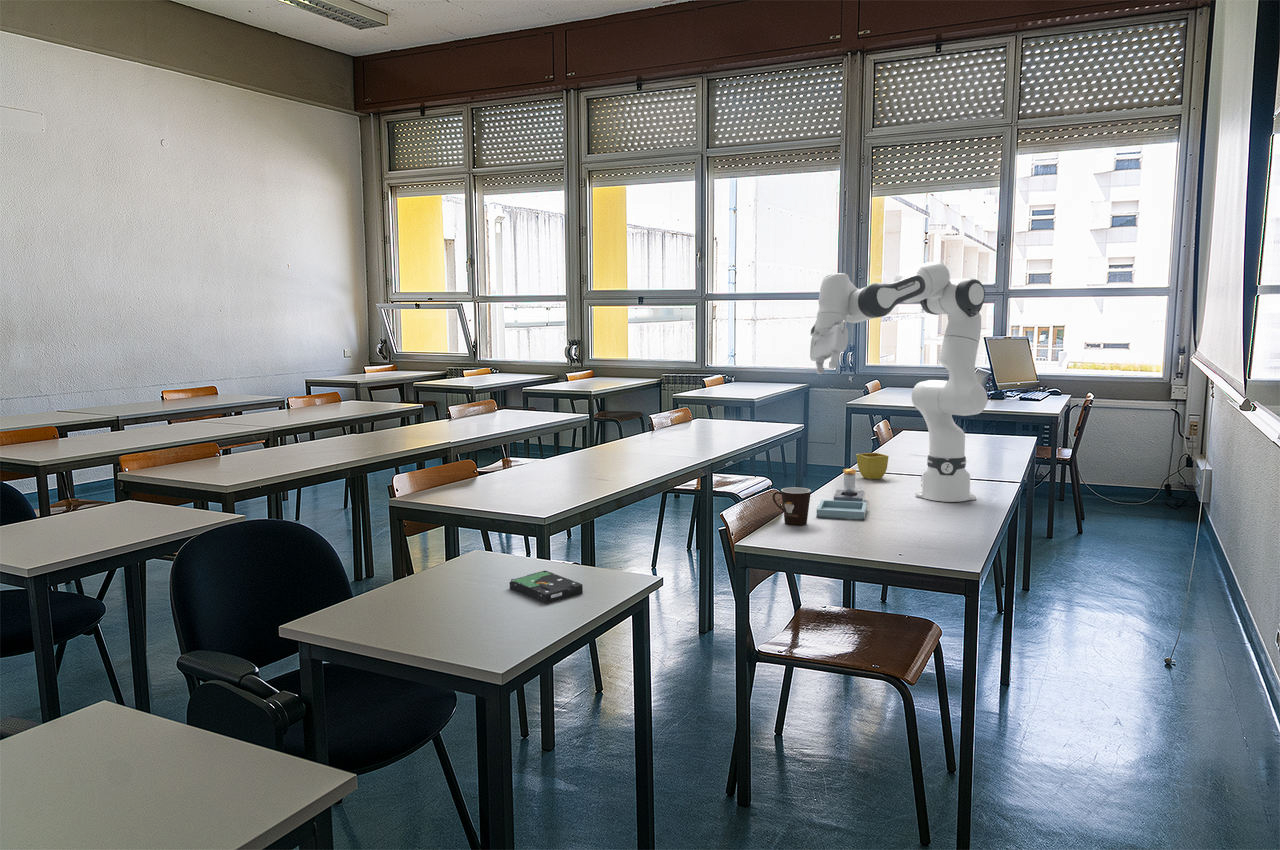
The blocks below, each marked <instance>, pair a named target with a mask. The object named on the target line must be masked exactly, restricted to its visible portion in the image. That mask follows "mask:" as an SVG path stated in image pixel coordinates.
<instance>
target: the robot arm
mask: <svg viewBox="0 0 1280 850" xmlns="http://www.w3.org/2000/svg"><path fill="white" fill-rule="evenodd" d="M985 298H986V291H985V287H984V286H983V284H982V282H981V281H980V280H978V279H975V278H971V277H970V278H969V277H967V278H966V277H965V278H954V279H953V278H951V275H950V271H949V268H948V267H947V266H946V265H945V264H944V263H942V262H940V261H931V262H925V263H921V264H916V265H914V266H911V267H909V268H907V269H905V270H902V271H901V272H900V273H898V274H896V275H895V278H894V281H893V282H891V283H884V282H873V283H871V284H869V285H867V286H864V287H862V288H858V287H856V286H855V284H854V283H853V282H852V281H851V279H850V276H849V275H848V274H846V273H843V272H837V273H830V274H828V275H826V276H825V277H823V279H822V282H821V284H820V288H819V293H818V305H819V306H818V311H817V314H816V320H815V322H814V323H813V324H814V325H813V326H812V328H810V334H809V335H810V336H811V340H810V350H809V351H810V352H809V357H810V361H813V362H815V365H816V366H815V367H816V374H818V375H822V374H824V373H825V367H824V363H825V361H826V360H828V359H830V361H829V363H828V368H829V369H833V370H834V369H836V368H837V365H838V362H839V358H840V355H841V353H843V352H845V351H846V350H847V348H848V343H849V329H848V327H847V323H848V324H858V323H863V322H866V321H869V320H872V319H875V318H876V319H877V318H881V317H885V316H887V315H889V314H890V313H891V312H892V311H893V309H894V308H895V307H896V306H897V305H898V304H900V303H903V304H913V303H920V306H921V308H922V310H923V311H924V312H925V313H927V314H929V315H935V316H938V315H947V324H946V329H945V330H944V335H943V340H942V344H941V348H940V353H939V362H940V364H941V366H942V367H944V368H945V369H946V370H947V371H948V380H943V379H941V380H939V379H928V380H923V381H918V383H916V384H915V385H914V387H913V388H912V391H911V402H912V404H913V406H914V408H916V410H918V411H919V413H920V414H921V416H922V417H923V419H924V421H925V424H926V428H927V430H928V449H929V451H928V455H927V458H926V459H927V460H926V462H927V464H926V466H927V468H925V470H924V471H923V472H922V474H921V477H920V478H921V480H920V481H921V482H922V483H921V484H920V487H921V488H920V489H919V490H918V491H917V492H916V493H915V497H917V498H923V499H926V500H929V501H935V502H944V503H945V502H946V503H955V502H957V503H958V502H966V501H971V500H972V501H973V500H976V499H977V496H976V495H975V494H974V493H973V492H971V474H970V473H969V472H968V471H967V469H966V466H967V457H966V455H965V454H966V453H965V452H966V435H965V432H964V430H963V429H962V428H961V427H960V426H958V425H957V424H956V422H955V421H954V419H953V415H954V416H963V417H966V416H974V415H979V414H980V413H982V412H983V411H984V410H985V408H986V407H987V404H988V393H987V391H986V389H985V388H984V386H983V385H982V384H981V383H980V381H979V379H978V377H977V373H976V360H977V359H976V358H977V355H978V349H979V343H980V338H981V332H982V331H981V330H982V315H981V313H980V311H981V310H982V308H983V306H984V301H985Z"/></svg>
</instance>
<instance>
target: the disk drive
mask: <svg viewBox="0 0 1280 850" xmlns="http://www.w3.org/2000/svg"><path fill="white" fill-rule="evenodd" d="M508 583H509V589H510V590H513V591H515V592H517V593H519V594H522V595H524V596H526V597H528V598H531V599H534V600H536V601H538V602H541V603H543V604H545V605H548V604H550V603H551V604H552V603H554V602H558V601H560V600H561V601H562V600H565V599H569V598H572V597H575V596H579V595H583V593H584V591H583V589H584V587H583V583H580V582H578V581H575V580H572V579H569V578H567V577H563V576H562V575H561V576H560V575H558V574H556V573H553V572H551V571H548V570H542V571H538V572H534V573H529V574H527V575H525V576H520V577H518V578H511V579H510V581H509V582H508Z"/></svg>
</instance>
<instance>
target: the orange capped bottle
mask: <svg viewBox="0 0 1280 850" xmlns="http://www.w3.org/2000/svg"><path fill="white" fill-rule="evenodd" d="M842 471H843V490H844V495H850V496H855V490H856V474H857V469H855V468H844V469H843V470H842Z"/></svg>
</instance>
